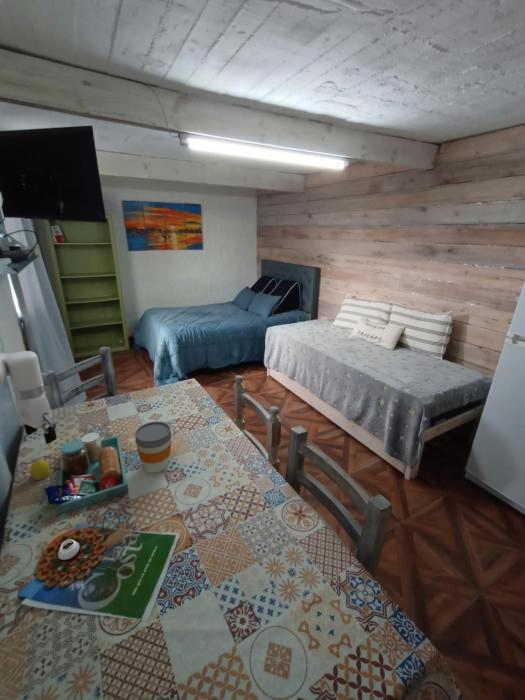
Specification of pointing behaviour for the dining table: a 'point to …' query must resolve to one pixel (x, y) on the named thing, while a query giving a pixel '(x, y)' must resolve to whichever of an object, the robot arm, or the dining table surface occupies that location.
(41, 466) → the lemon
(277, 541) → the dining table surface
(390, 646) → the dining table surface
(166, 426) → the reusable coffee cup
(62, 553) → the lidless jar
